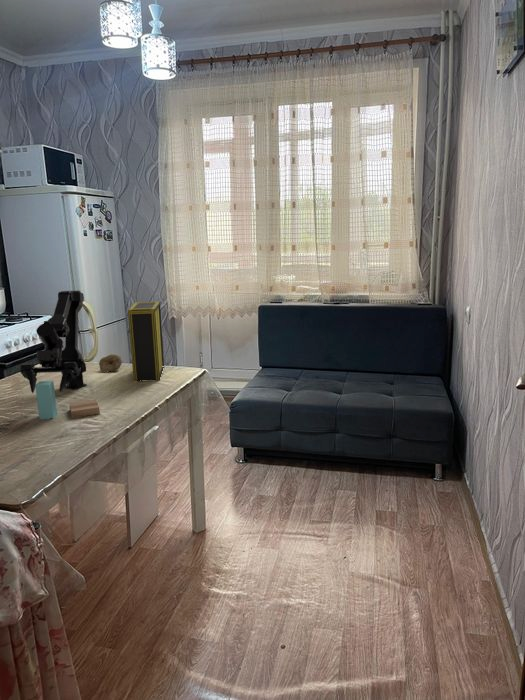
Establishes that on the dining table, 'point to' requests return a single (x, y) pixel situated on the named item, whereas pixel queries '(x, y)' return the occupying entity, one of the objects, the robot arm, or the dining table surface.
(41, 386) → the tall block
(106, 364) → the fossil
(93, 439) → the dining table surface
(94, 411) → the base brick
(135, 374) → the diorama
